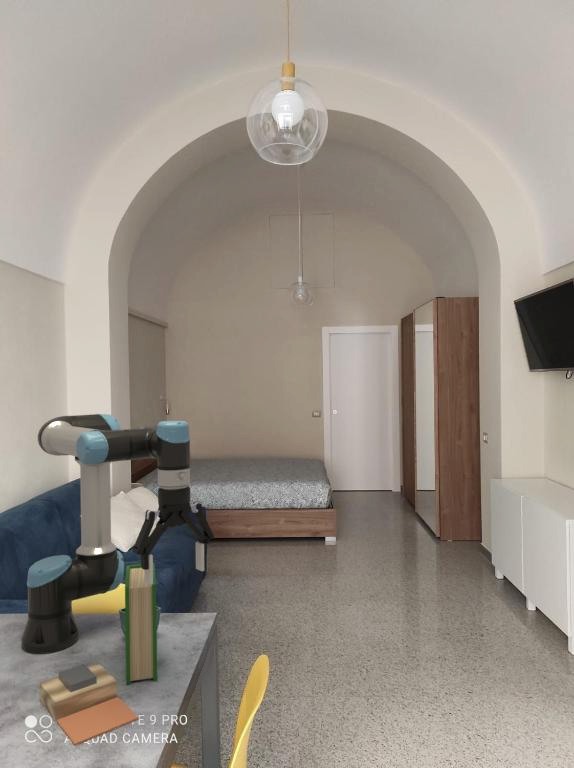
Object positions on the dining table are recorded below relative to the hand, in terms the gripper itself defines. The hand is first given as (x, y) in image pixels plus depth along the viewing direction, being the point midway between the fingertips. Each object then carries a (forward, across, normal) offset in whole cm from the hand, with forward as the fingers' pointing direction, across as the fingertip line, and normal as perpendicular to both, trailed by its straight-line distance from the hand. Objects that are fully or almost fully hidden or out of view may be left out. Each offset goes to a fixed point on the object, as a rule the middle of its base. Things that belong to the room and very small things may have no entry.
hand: (175, 576), depth 136 cm
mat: (+28, -18, +2) cm, 34 cm away
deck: (+28, -18, +14) cm, 36 cm away
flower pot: (+28, +7, +33) cm, 44 cm away
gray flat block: (+24, -18, +14) cm, 33 cm away
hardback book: (+28, 0, +18) cm, 34 cm away
